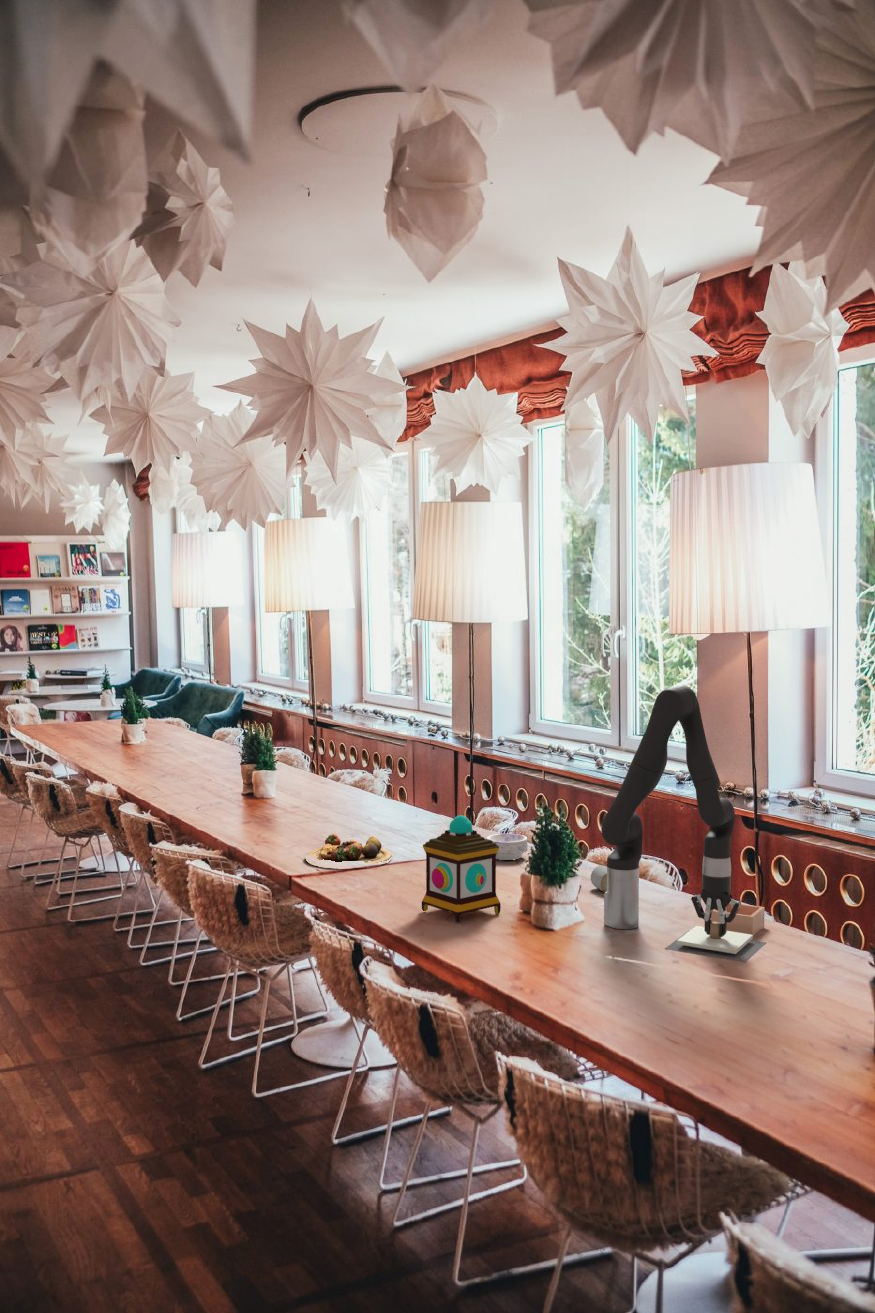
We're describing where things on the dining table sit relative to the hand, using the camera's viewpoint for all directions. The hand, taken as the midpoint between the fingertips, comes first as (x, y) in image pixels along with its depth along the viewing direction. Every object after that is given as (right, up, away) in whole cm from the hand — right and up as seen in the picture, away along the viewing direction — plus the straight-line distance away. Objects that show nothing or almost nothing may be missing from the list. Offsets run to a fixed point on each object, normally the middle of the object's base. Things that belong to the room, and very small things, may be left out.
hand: (715, 934), depth 306 cm
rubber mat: (0, -3, 0) cm, 3 cm away
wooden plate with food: (-109, 0, +108) cm, 153 cm away
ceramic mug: (-19, -1, +62) cm, 65 cm away
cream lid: (0, -2, 0) cm, 2 cm away
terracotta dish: (+11, -3, +17) cm, 20 cm away
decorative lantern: (-69, -2, +35) cm, 77 cm away
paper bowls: (-50, +1, +109) cm, 120 cm away
